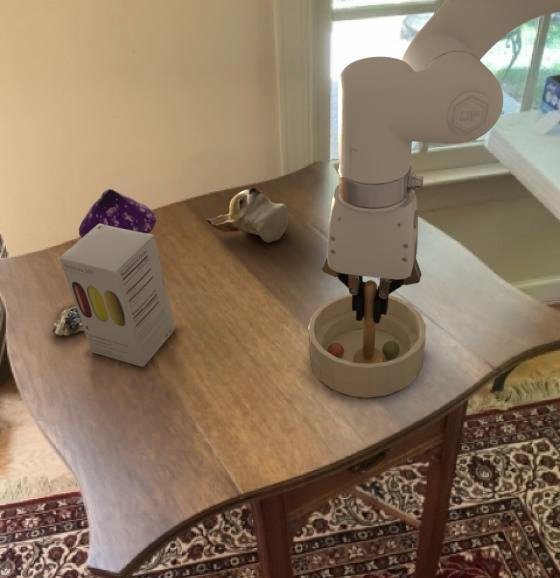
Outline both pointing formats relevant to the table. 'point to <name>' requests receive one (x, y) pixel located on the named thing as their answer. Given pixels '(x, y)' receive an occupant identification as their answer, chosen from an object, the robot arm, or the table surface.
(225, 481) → the table surface
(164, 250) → the table surface
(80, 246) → the supplement box
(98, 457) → the table surface
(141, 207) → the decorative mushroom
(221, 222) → the ceramic sculpture
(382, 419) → the table surface
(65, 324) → the white grey lumpy piece
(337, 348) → the bead
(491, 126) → the robot arm
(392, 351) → the bead
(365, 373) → the bowl
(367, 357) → the wooden peg stand
